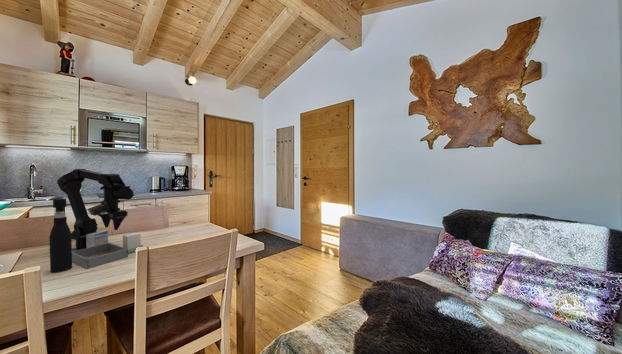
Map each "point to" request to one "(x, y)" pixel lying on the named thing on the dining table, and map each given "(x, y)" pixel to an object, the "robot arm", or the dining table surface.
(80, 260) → the grey tray
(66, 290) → the dining table surface
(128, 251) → the mat
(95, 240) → the medicine box
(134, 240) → the block
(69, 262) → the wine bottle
